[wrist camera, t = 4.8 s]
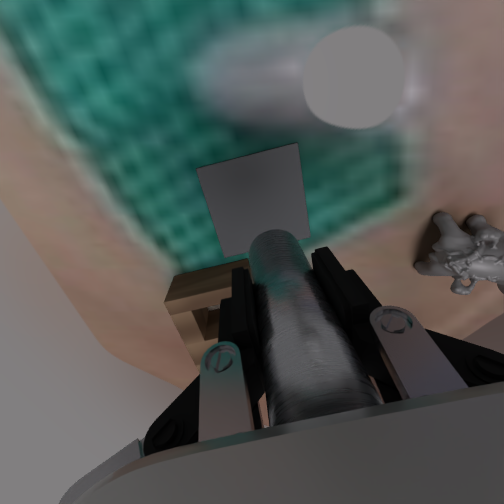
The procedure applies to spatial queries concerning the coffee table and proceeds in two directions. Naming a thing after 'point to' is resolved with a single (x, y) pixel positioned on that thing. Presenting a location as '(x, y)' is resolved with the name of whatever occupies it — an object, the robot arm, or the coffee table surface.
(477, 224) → the gray elephant figurine
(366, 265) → the coffee table surface
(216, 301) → the hole block
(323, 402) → the peg
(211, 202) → the mat
